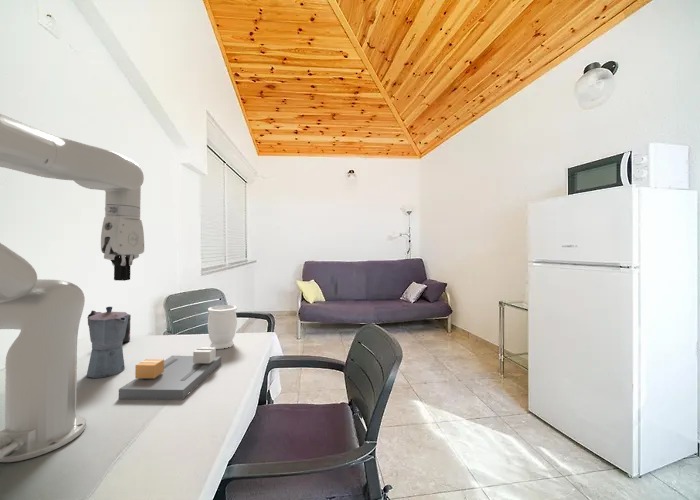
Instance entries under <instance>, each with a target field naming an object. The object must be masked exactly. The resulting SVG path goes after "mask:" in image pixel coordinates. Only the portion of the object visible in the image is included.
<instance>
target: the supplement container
mask: <svg viewBox="0 0 700 500" xmlns="http://www.w3.org/2000/svg"><path fill="white" fill-rule="evenodd" d="M127 314H128V313H127ZM128 315H129V318H128V322H127V327H126V333H125V338H124V339H123V343H122V345H125V344H127V343H129V342H130V341H131V319H132V318H131V316H132V315H131V314H128Z"/></svg>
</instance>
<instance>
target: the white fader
mask: <svg viewBox="0 0 700 500" xmlns="http://www.w3.org/2000/svg"><path fill="white" fill-rule="evenodd" d="M216 353H217V349H216V347H210V346H206V347H205V346H202V347H198V348H196V349H195V350H194V351H193V352H192V356H193V363H211V362H212V361H213V360H214V359H215V358H216V355H217V354H216Z"/></svg>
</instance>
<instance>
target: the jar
mask: <svg viewBox="0 0 700 500" xmlns="http://www.w3.org/2000/svg"><path fill="white" fill-rule="evenodd" d="M237 310H238V307H237V305H233V304H230V305H229V304H223V305H222V304H221V305H215V306H210V307H208V308H207V311H208V316H207V317H208V318H207V331H208V339H209V340H210V342H211V343H210V345H209V347H216V350H223V349H224V348H225V349H228V347H229V348H231V347H233V346H234V341H233V340H234V338H235V335H236V332H237V331H236V330H237V324H238V318H237V317H238V316H237V313H236V311H237ZM232 345H233V346H232Z"/></svg>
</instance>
